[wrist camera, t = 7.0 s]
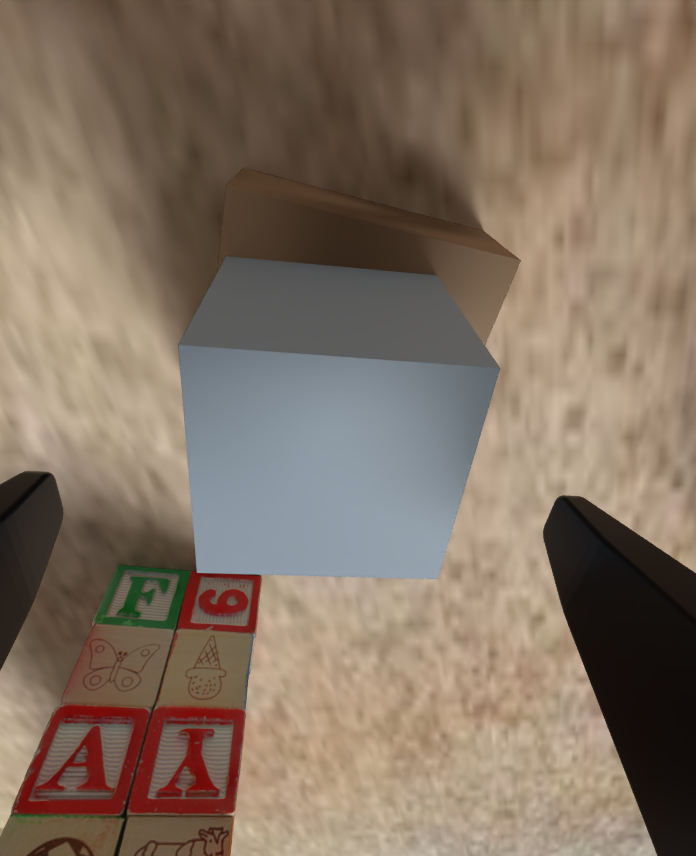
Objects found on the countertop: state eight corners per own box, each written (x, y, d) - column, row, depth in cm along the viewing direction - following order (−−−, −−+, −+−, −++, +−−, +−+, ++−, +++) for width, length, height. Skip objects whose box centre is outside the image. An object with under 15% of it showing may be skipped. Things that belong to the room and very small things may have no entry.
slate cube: (403, 444, 15) (437, 579, 11) (230, 435, 14) (196, 572, 10) (436, 275, 12) (500, 368, 8) (226, 256, 12) (178, 344, 8)
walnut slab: (480, 228, 15) (520, 260, 12) (409, 422, 19) (427, 482, 16) (244, 166, 14) (226, 185, 11) (217, 387, 18) (198, 445, 15)
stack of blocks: (233, 789, 34) (197, 1093, 23) (135, 787, 33) (53, 1103, 23) (263, 571, 22) (220, 975, 12) (114, 559, 21) (-70, 985, 11)
